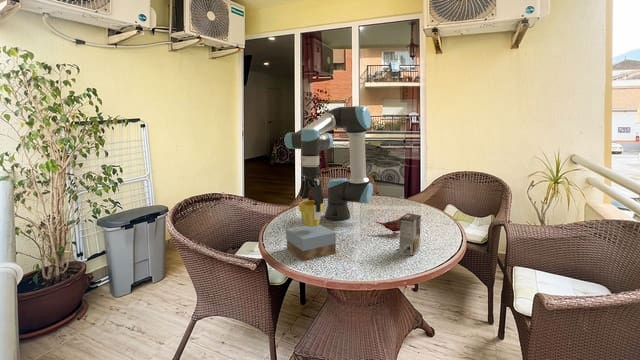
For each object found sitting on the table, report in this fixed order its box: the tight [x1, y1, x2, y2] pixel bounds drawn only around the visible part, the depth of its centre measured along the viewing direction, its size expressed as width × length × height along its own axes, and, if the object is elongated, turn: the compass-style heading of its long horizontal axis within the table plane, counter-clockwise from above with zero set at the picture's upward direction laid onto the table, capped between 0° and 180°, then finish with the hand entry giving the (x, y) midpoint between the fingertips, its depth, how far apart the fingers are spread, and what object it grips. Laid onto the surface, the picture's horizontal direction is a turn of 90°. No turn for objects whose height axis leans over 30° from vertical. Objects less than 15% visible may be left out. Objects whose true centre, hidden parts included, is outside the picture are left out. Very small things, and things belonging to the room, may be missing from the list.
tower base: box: [286, 240, 337, 262], centre depth 153 cm, size 16×16×5 cm
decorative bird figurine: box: [375, 215, 404, 235], centre depth 174 cm, size 3×18×10 cm, turn 80°
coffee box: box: [398, 212, 422, 256], centre depth 151 cm, size 9×6×16 cm
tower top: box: [285, 224, 337, 251], centre depth 152 cm, size 16×16×5 cm
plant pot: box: [298, 199, 324, 227], centre depth 150 cm, size 10×10×10 cm
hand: (311, 216), depth 151 cm, fingers closed on plant pot, 10 cm apart
